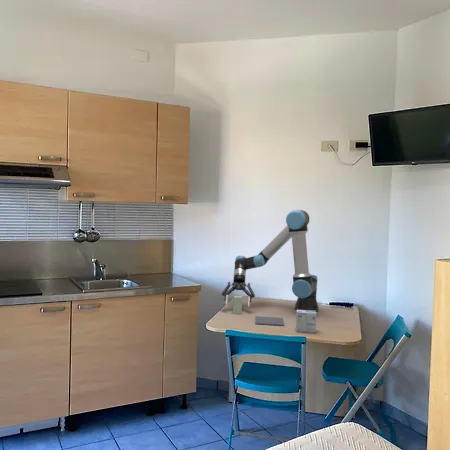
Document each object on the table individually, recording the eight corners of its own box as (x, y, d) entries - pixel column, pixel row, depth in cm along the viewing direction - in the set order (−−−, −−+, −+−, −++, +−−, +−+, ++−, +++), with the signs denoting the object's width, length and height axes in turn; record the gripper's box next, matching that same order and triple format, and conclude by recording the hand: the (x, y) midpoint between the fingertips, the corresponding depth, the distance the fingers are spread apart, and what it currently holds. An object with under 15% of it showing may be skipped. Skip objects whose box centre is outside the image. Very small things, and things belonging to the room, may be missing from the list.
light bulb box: (315, 329, 254) (316, 310, 253) (316, 333, 247) (317, 313, 246) (295, 328, 255) (296, 309, 254) (295, 331, 248) (296, 311, 247)
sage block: (241, 312, 287) (242, 296, 287) (241, 314, 282) (242, 297, 282) (233, 311, 288) (234, 295, 287) (233, 313, 283) (233, 297, 282)
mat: (282, 319, 274) (282, 317, 274) (284, 326, 258) (284, 324, 258) (255, 317, 275) (255, 316, 275) (255, 324, 259) (255, 323, 259)
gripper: (258, 281, 300) (257, 310, 285) (220, 279, 301) (217, 307, 287) (259, 274, 294) (258, 303, 280) (219, 272, 296) (216, 300, 281)
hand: (237, 305), depth 283 cm, fingers open, 13 cm apart
